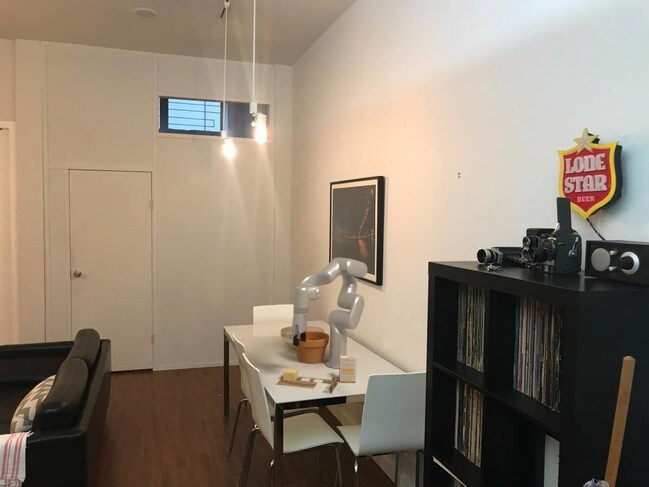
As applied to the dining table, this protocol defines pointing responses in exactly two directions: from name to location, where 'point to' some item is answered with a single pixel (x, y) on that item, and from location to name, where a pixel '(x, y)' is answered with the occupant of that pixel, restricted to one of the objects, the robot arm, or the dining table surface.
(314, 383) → the trap board
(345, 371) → the supplement box
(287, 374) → the ochre block
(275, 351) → the dining table surface
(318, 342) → the flower pot
